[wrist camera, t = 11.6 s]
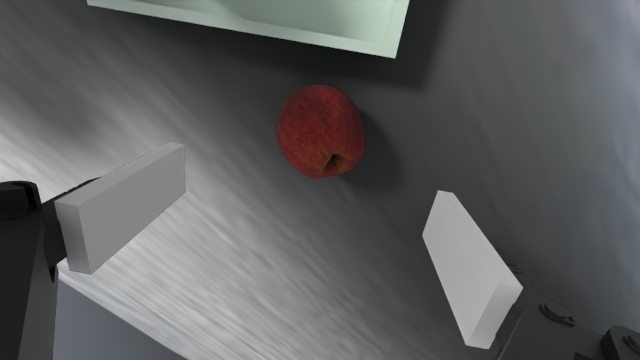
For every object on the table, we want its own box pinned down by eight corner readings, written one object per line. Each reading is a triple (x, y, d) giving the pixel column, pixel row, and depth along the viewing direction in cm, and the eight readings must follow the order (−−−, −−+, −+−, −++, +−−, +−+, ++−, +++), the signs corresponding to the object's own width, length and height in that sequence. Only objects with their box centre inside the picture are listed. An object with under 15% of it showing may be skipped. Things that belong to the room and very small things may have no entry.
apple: (301, 169, 31) (289, 206, 24) (270, 97, 28) (245, 114, 21) (370, 146, 30) (379, 178, 22) (345, 67, 27) (345, 75, 20)
